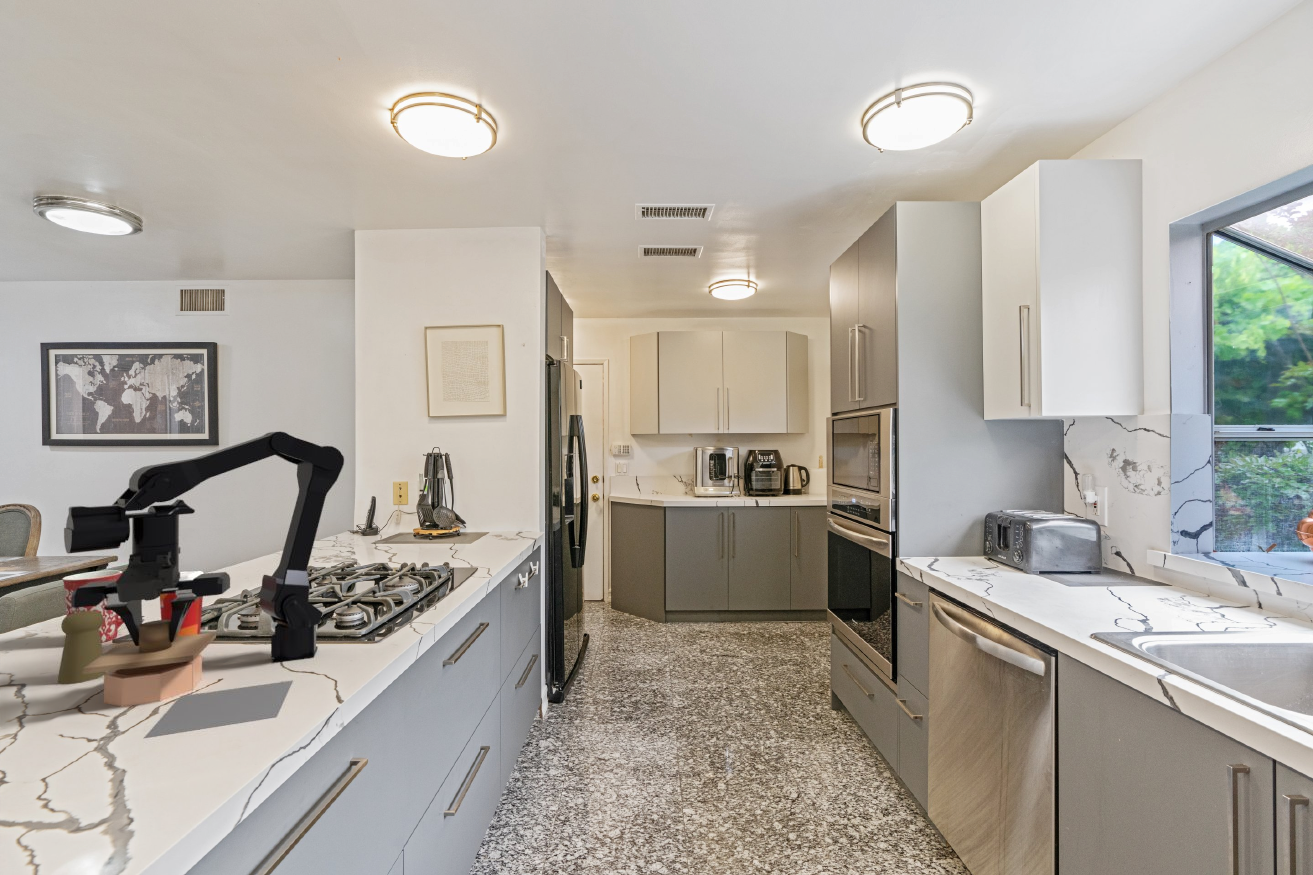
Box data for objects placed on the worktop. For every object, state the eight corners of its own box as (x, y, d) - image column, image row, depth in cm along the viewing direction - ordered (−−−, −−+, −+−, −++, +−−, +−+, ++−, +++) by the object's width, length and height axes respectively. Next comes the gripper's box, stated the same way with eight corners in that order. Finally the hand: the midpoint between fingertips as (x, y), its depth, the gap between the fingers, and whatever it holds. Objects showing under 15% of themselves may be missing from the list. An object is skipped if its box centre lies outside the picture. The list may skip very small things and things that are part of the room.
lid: (216, 636, 104) (216, 608, 104) (193, 660, 92) (193, 628, 92) (120, 647, 99) (120, 617, 99) (82, 674, 87) (82, 640, 87)
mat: (293, 682, 99) (293, 680, 99) (276, 719, 85) (276, 716, 85) (180, 698, 93) (180, 696, 93) (143, 740, 80) (143, 737, 80)
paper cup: (174, 639, 123) (175, 570, 124) (214, 638, 124) (214, 569, 124) (145, 652, 116) (146, 578, 116) (188, 650, 116) (188, 577, 116)
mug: (58, 651, 117) (59, 581, 117) (64, 640, 124) (65, 574, 124) (144, 637, 125) (144, 572, 125) (145, 628, 132) (145, 566, 132)
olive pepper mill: (76, 685, 99) (76, 617, 100) (47, 682, 101) (48, 616, 101) (115, 671, 105) (116, 608, 106) (88, 669, 106) (88, 607, 107)
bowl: (207, 675, 103) (207, 649, 103) (186, 699, 93) (186, 670, 93) (124, 686, 98) (125, 658, 99) (93, 713, 88) (93, 682, 88)
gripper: (52, 557, 85) (51, 669, 85) (212, 547, 92) (212, 650, 92) (89, 546, 95) (88, 645, 95) (231, 537, 103) (230, 630, 102)
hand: (155, 643), depth 96 cm, fingers closed on lid, 4 cm apart
